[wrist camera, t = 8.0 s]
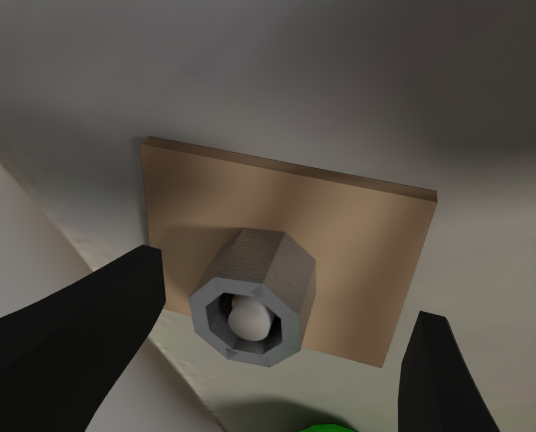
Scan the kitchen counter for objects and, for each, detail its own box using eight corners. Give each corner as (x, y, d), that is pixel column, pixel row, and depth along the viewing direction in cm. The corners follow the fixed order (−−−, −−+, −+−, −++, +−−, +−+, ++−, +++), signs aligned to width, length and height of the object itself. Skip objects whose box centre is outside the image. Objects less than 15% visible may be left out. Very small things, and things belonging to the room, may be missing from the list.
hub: (316, 235, 21) (298, 288, 18) (316, 314, 24) (300, 373, 21) (216, 224, 23) (182, 272, 19) (227, 300, 25) (199, 354, 22)
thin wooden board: (436, 191, 19) (441, 249, 16) (383, 354, 25) (377, 424, 22) (149, 136, 22) (97, 175, 18) (163, 295, 28) (125, 349, 24)
